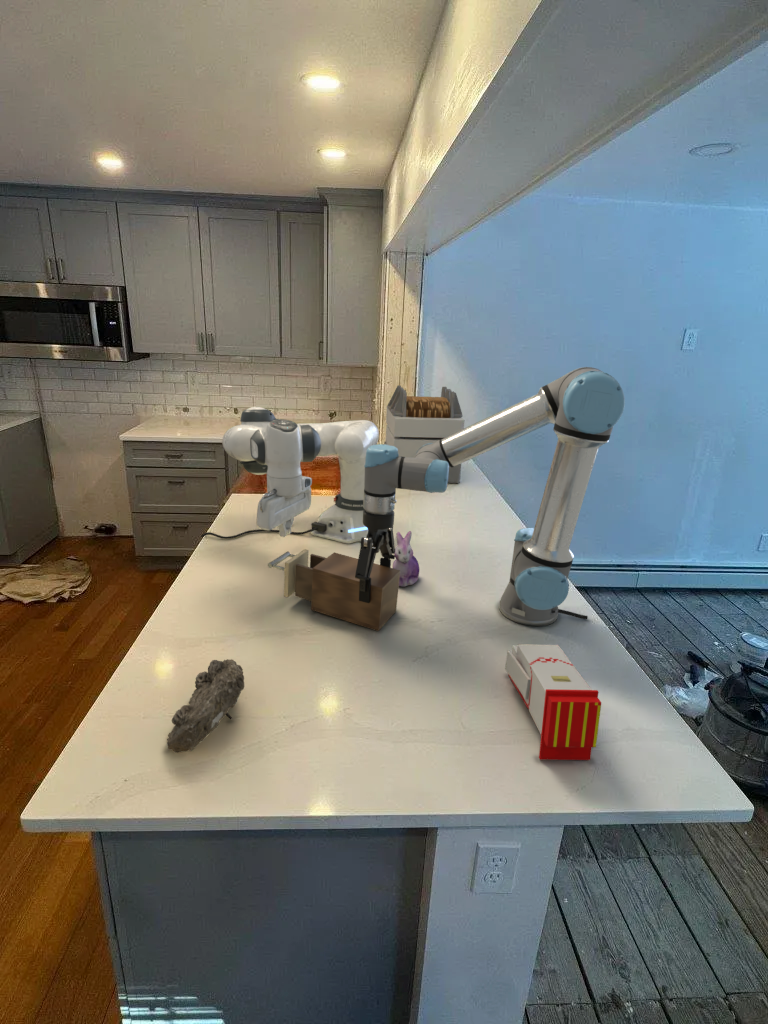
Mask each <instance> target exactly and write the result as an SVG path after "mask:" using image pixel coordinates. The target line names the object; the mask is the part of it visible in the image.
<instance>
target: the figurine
mask: <svg viewBox="0 0 768 1024" xmlns="http://www.w3.org/2000/svg"><path fill="white" fill-rule="evenodd" d="M412 535H413V532H412V531H411V530H409V531H408V532H407V533H406V534H405V536H404V537H403V536H402V533H401V532H400V531H397V532H396V545H395V553H394V554H393V555H395V558H394V560H393V562H392V568H393V569H397V570H400V577H399V587H403V588H404V587H407V586H412V585H414V584H416V583H417V582H418V580H419V575H420V565H419V561H418V559H417V558H416V556H414V549H413V547H412V545H411V540H412Z"/></svg>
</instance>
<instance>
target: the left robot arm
mask: <svg viewBox="0 0 768 1024" xmlns="http://www.w3.org/2000/svg"><path fill="white" fill-rule="evenodd" d="M239 420H240V424H237V425H234V426H232V427H230V428H229V429H227V430H226V431H225V433H224V434H223V436H222V440H221V444H222V448H223V449H224V451H225V453H226V454H227V455H228V456H229V457H230V458H232V459H234V460H236V461H239V462H240V464H241V465H242V466H243V468H244V470H245V471H246V472H248V473H250V474H253V475H257V476H263V475H266V492H265V493H263V494H262V496H261V498H260V499H259V502H258V504H257V512H256V526H257V528H258V529H250V530H246V531H242V532H241V533H238V534H234V535H229V536H224V535H220V534H217V533H214V532H211V531H209V532H204V533H203V534H202V535H200V537H201V538H204V537H205V536H213V537H215V538H219V539H224V540H230V539H236V538H238V537H241V536H243V535H246V534H251V533H263V532H265V533H266V532H267V533H279V536H280V537H282V538H286V537H287V536H289V535H306V534H308V533H311V536H315V537H319V538H323V539H326V540H330V541H336V542H339V543H343V544H352V543H357V542H361V538H362V537H364V538H366V537H367V534H368V528H367V527H365V526H364V525H363V510H364V508H363V499H364V480H365V467H364V465H365V460H366V451H367V449H368V448H369V447H370V446H372V445H377V444H378V443H379V439H380V432H379V431H380V430H379V427H378V426H377V425H376V423H374V422H373V421H371V420H367V419H356V420H342V421H341V420H340V421H333V422H332V421H331V422H320V423H319V422H318V423H317V422H315V423H314V422H313V423H311V422H309V423H306V422H305V423H296V422H295V421H293V420H289V419H284V418H280V419H279V418H277V417H276V416H275V415H274V413H273V412H272V411H271V410H269V409H267V408H264V407H262V406H251V407H248V408H246V409H244V410H243V411H242V412H241V415H240V419H239ZM335 455H337V458H338V459H337V460H338V464H339V471H340V490H339V491H338V492H337V494H336V495H335V496H334V497H333V502H334V504H333V505H331V506H329V507H328V508H326V509H325V510H323V512H321V514H320V515H319V517H318V521H314V522H311V529H308V530H304V531H292V527H293V525H294V521H295V517H297V516H299V515H301V514H303V513H305V512H306V511H308V510H309V509H310V507H311V505H312V487H311V486H312V484H313V478H312V477H309V476H307V475H303V471H302V468H301V463H310V462H311V463H312V462H313V461H314V460H315V459H316V458H317V457H329V456H335ZM275 528H277V529H275Z"/></svg>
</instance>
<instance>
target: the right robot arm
mask: <svg viewBox="0 0 768 1024" xmlns="http://www.w3.org/2000/svg"><path fill="white" fill-rule="evenodd" d="M625 406H626V398H625V392H624V391H623V388H622V386H621V384H620V382H619V381H618V380H617V379H616V378H615V377H613V375H611V374H609V373H607V372H604V371H603V370H600V369H599V368H597V367H596V368H595V367H591V366H581V367H578V368H575V369H573V370H570V371H569V372H567V373H566V374H564V375H562V376H560V377H559V378H556V379H555V380H553V381H551V382H549V383H547V384H545V385H543V386H541V387H540V388H539V390H538V392H537V393H536V394H534V395H532V396H529V397H528V398H526V399H523V400H522V401H519V402H518V403H515V404H513V405H510V406H509V407H506V408H504V409H503V410H500V411H498V412H496V413H494V414H492V415H490V416H488V417H486V418H484V419H481V420H479V421H477V422H475V423H473V424H471V425H469V426H467V427H464V429H462V430H460V431H458V432H456V433H454V434H451V435H449V436H447V437H445V438H443V439H441V440H439V441H437V442H435V443H428V444H425V445H423V446H422V447H421V448H420V449H419V450H418V451H417V453H416V455H415V457H414V458H411V457H402V456H399V454H398V449H397V448H396V447H394V446H389V445H385V444H384V443H383V444H382V443H381V444H379V443H377V444H376V445H372V446H370V447H369V448H368V449H367V451H366V460H365V465H364V467H365V480H364V499H363V508H364V510H363V525H364V526H365V527H367V528H368V534H367V537H366V538H364V537H362V538H361V541H360V547H359V548H360V549H359V552H358V553H359V554H358V558H357V559H358V564H357V569H356V574H355V578H357V579H360V584H359V601H362V602H366V603H370V594H371V578H369V577H370V574H371V570H372V567H373V563H375V560H376V557H377V554H378V553H379V552H380V554H381V557H380V559H379V565H382V566H386V567H390V568H392V567H391V564H392V560H395V559H396V558H395V555H394V553H395V548H396V544H395V537H394V536H395V535H394V524H395V511H394V510H395V505H396V504H397V502H398V501H397V499H396V492H397V490H396V489H399V490H409V491H416V492H426V493H431V494H432V493H433V494H434V493H436V494H437V493H438V494H439V493H443V494H444V493H445V492H446V491H447V489H448V475H449V469H450V468H452V467H454V466H456V465H458V464H461V465H462V464H463V463H465V462H467V461H469V460H472V459H474V458H476V457H479V456H481V455H483V454H485V453H487V452H490V451H492V450H495V449H497V448H498V447H500V446H503V445H505V444H507V443H510V442H512V441H514V440H516V439H519V438H521V437H524V436H525V435H527V434H529V433H532V432H534V431H536V430H539V429H541V428H543V427H545V426H549V425H550V424H552V425H553V429H552V430H553V433H554V434H555V436H556V437H557V441H556V446H555V449H554V453H553V457H552V460H551V465H550V467H549V472H548V476H547V480H546V483H545V486H544V489H543V490H544V491H543V493H542V497H541V502H540V504H539V509H538V514H537V516H536V520H535V523H534V527H525V528H520V529H518V530H517V531H516V533H515V537H514V539H513V541H514V544H513V552H512V558H511V559H512V560H511V566H510V573H509V574H510V576H509V582H508V584H507V585H506V588H505V590H504V592H503V593H502V595H501V597H500V600H499V604H498V605H499V606H498V608H499V609H498V610H499V611H500V613H501V614H502V615H503V616H504V617H505V618H507V619H509V620H510V621H511V622H515V623H517V624H521V625H525V626H530V627H531V626H532V627H543V626H548V625H551V624H553V623H555V621H557V619H558V616H559V614H562V615H567V616H571V617H574V618H577V619H581V620H588V617H589V616H588V615H585V614H580V613H576V612H572V611H569V610H566V609H561V608H559V606H560V605H561V604H563V603H564V602H565V601H566V600H567V597H568V595H569V591H570V583H569V580H568V579H569V575H570V573H571V572H570V571H571V568H572V565H573V561H574V558H575V555H574V552H572V549H571V547H570V546H571V543H572V541H573V536H574V533H575V530H576V526H577V523H578V521H579V520H578V519H579V516H580V513H581V509H582V506H583V502H584V500H585V497H586V493H587V489H588V486H589V482H590V479H591V475H592V473H593V469H594V465H595V463H596V459H597V456H598V452H599V449H600V448H601V447H603V446H604V445H606V444H607V443H609V441H610V439H611V434H612V431H613V428H614V426H615V425H616V424H617V423H618V422H619V420H620V419H621V417H622V416H623V414H624V410H625Z"/></svg>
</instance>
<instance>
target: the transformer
mask: <svg viewBox="0 0 768 1024" xmlns="http://www.w3.org/2000/svg"><path fill="white" fill-rule="evenodd" d="M440 393H441V394H440V396H415V395H414V396H413V395H412V396H411V395H407V394H408V393H407V390H406V389H404V388H403V387H402V385H399V384H398V385H397V386H396V388H395V390H394V392H393V394H392V395H391V398H390V400H389V402H388V404H387V405H386V413H385V414H386V415H385V423H386V428H385V438H384V442H383V444H385V445H389V446H394V447H396V448H397V449H398V454H399V456H402V457H411V458H414V457H415V455H416V453H417V451H418V450H419V449H420V448H421V447H422V446H423V445H425V444H428V443H435V442H437V441H439V440H441V439H443V438H445V437H447V436H449V435H451V434H454V433H456V432H458V431H460V430H462V429H464V428H465V419H464V418H463V411H462V408H461V405H460V402H459V398H458V395H457V392H455V391H453V390H452V389H451V388H447V386H442V387H441V392H440ZM461 472H462V463H461V464H458V465H456V466H454V467H452V468H450V469H449V475H448V483H449V484H455V483H456V484H459V483H461Z"/></svg>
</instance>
